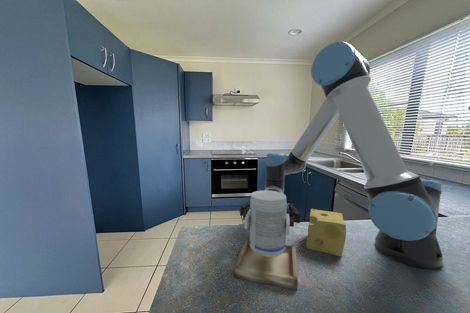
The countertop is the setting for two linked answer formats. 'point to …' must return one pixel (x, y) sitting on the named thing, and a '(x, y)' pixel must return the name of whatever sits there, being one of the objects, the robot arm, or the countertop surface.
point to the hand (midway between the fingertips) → (266, 226)
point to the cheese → (326, 232)
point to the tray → (268, 267)
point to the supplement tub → (268, 223)
